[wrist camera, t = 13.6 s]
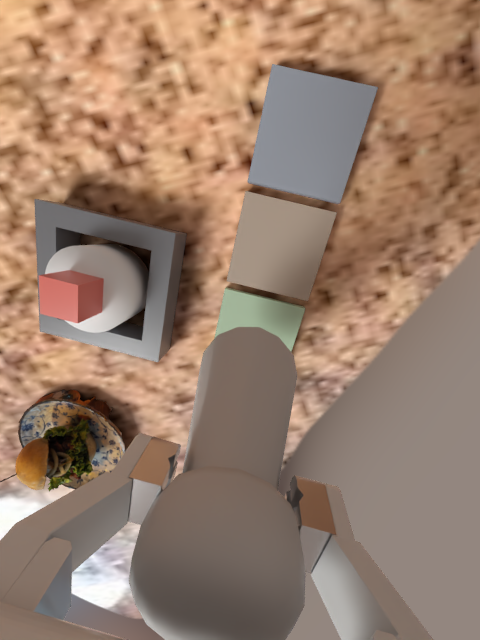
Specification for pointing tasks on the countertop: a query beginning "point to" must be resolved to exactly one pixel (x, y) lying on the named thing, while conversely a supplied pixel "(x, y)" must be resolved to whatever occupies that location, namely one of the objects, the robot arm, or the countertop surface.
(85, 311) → the dome
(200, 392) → the salt shaker
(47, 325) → the button housing
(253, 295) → the track
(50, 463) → the bowl of food
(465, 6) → the countertop surface
